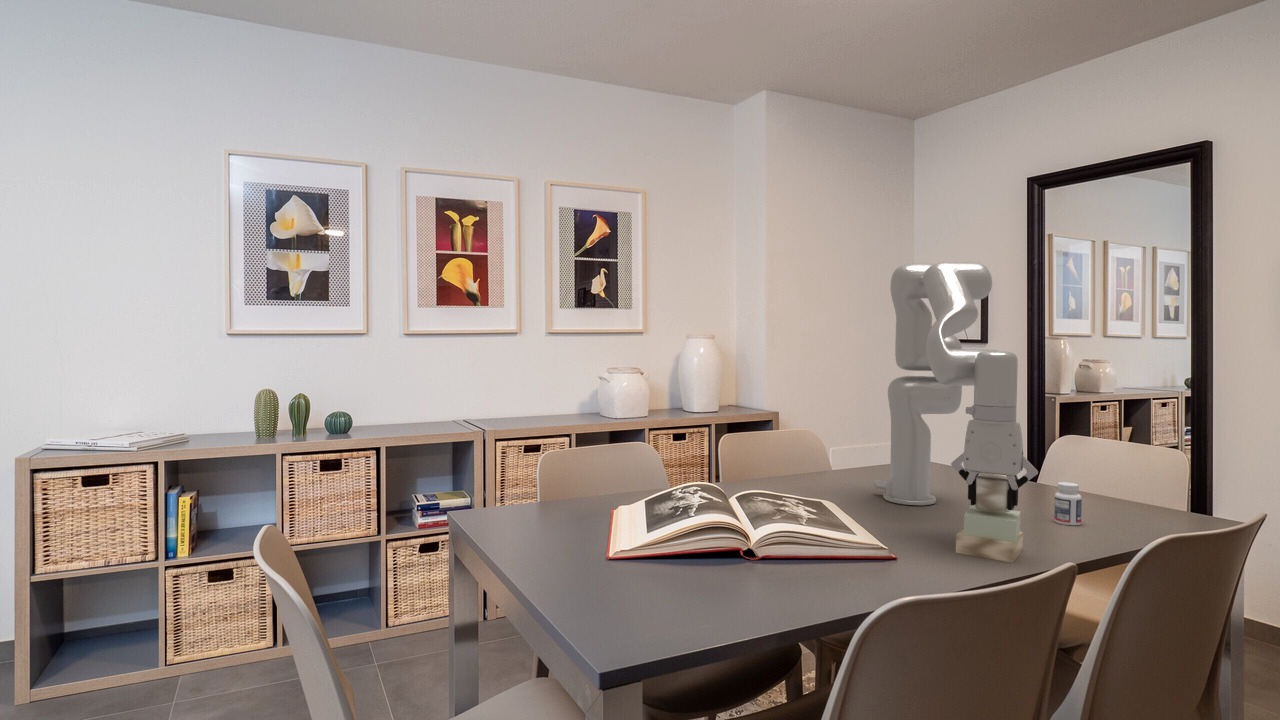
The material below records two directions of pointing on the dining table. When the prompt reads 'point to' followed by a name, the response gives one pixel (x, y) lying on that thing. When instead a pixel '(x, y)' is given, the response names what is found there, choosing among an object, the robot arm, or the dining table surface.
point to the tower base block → (989, 547)
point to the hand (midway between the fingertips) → (992, 505)
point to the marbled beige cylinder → (992, 494)
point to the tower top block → (992, 524)
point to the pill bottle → (1068, 504)
